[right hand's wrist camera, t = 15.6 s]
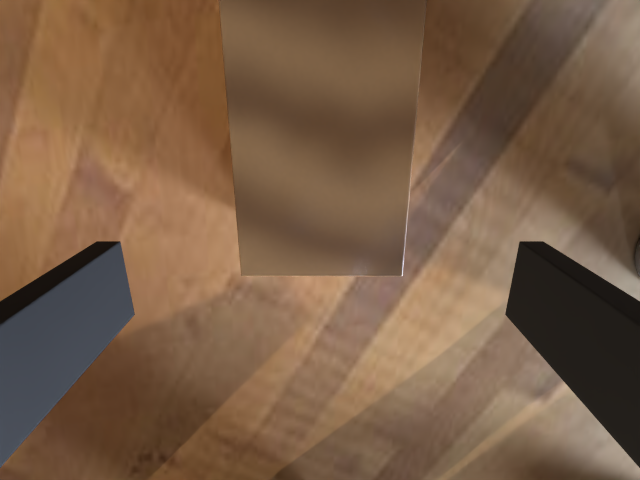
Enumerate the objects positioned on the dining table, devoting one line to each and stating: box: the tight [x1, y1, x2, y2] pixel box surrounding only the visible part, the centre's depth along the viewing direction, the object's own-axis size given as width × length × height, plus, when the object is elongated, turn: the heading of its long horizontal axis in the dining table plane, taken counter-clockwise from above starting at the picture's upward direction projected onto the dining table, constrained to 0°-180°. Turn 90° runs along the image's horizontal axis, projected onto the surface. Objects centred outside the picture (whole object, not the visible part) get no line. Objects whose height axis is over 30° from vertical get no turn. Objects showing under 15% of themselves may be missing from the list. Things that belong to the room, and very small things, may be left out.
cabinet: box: [219, 0, 427, 277], centre depth 24 cm, size 19×10×10 cm, turn 0°
